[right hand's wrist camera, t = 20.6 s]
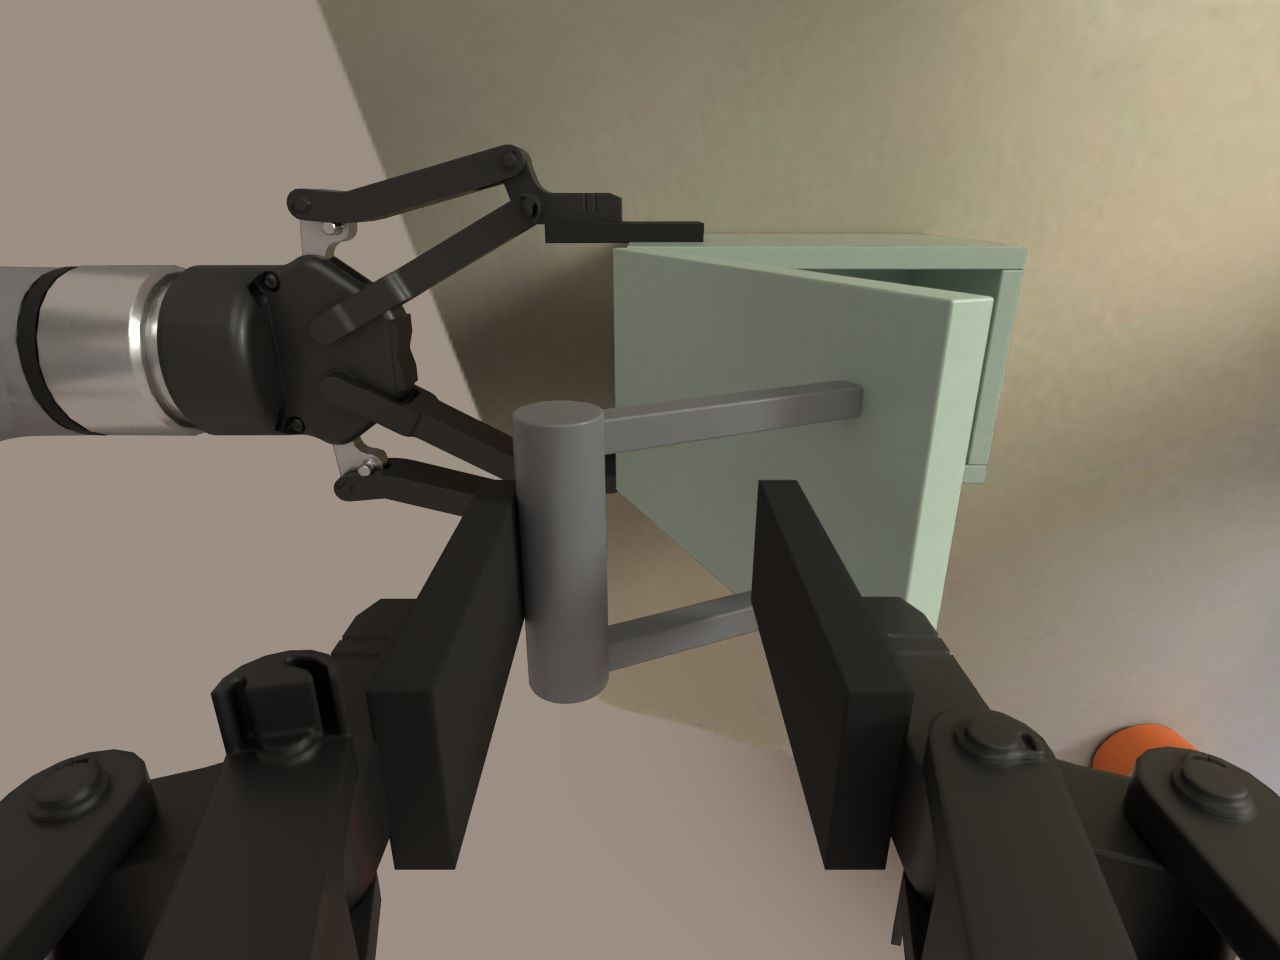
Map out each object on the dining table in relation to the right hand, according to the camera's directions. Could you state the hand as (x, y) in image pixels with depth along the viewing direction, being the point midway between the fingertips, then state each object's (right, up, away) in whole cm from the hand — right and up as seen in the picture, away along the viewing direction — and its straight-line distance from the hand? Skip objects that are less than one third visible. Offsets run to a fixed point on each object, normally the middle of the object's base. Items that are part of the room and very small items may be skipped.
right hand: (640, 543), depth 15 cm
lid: (+3, +3, +7) cm, 9 cm away
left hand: (+3, +7, +18) cm, 20 cm away
